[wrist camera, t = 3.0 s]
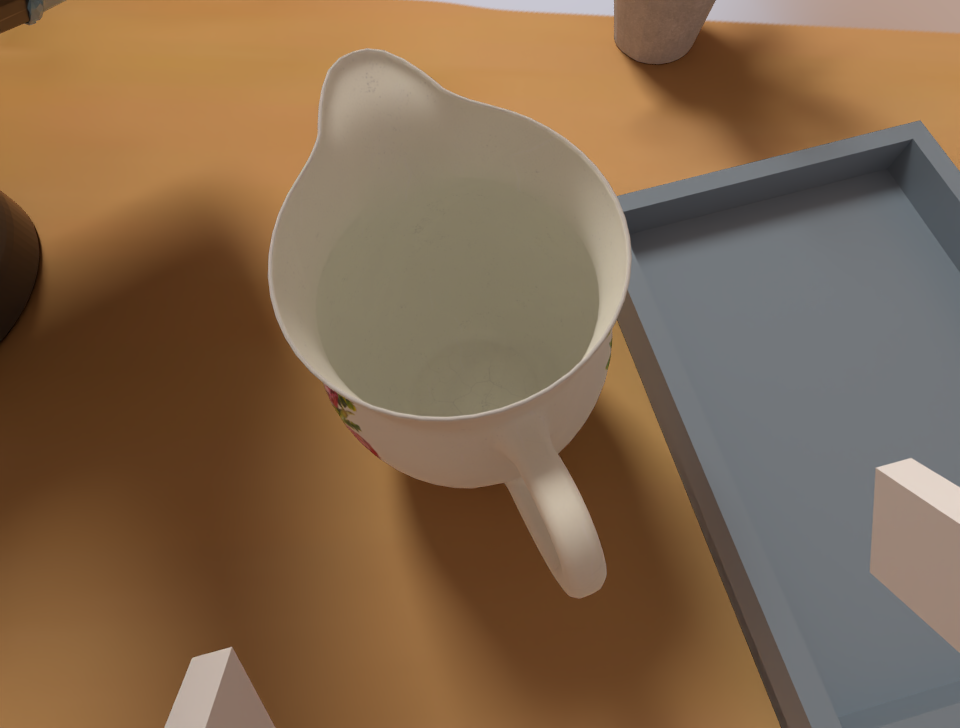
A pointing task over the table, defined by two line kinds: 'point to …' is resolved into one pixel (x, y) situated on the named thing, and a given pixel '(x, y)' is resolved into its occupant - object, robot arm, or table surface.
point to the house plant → (658, 27)
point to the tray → (809, 400)
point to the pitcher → (455, 291)
